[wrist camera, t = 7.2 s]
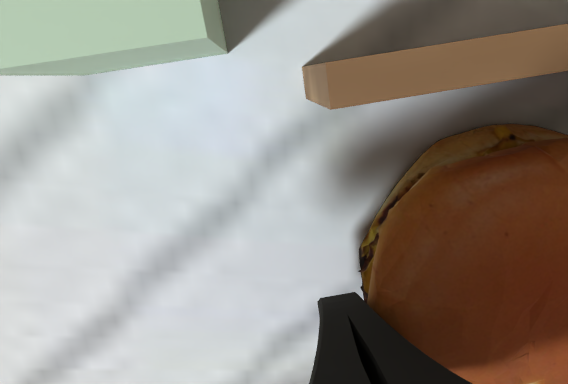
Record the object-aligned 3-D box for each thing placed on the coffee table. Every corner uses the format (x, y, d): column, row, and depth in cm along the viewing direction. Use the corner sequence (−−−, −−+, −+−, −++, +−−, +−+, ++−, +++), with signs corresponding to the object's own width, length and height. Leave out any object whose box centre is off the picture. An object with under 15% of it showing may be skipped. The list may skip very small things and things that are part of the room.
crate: (646, 370, 17) (759, 456, 13) (347, 426, 16) (375, 531, 13) (732, -3, 12) (960, -40, 8) (302, 66, 11) (325, 62, 8)
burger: (564, 75, 12) (738, 77, 8) (598, 284, 15) (738, 370, 11) (302, 193, 13) (326, 257, 8) (384, 370, 16) (434, 486, 11)
